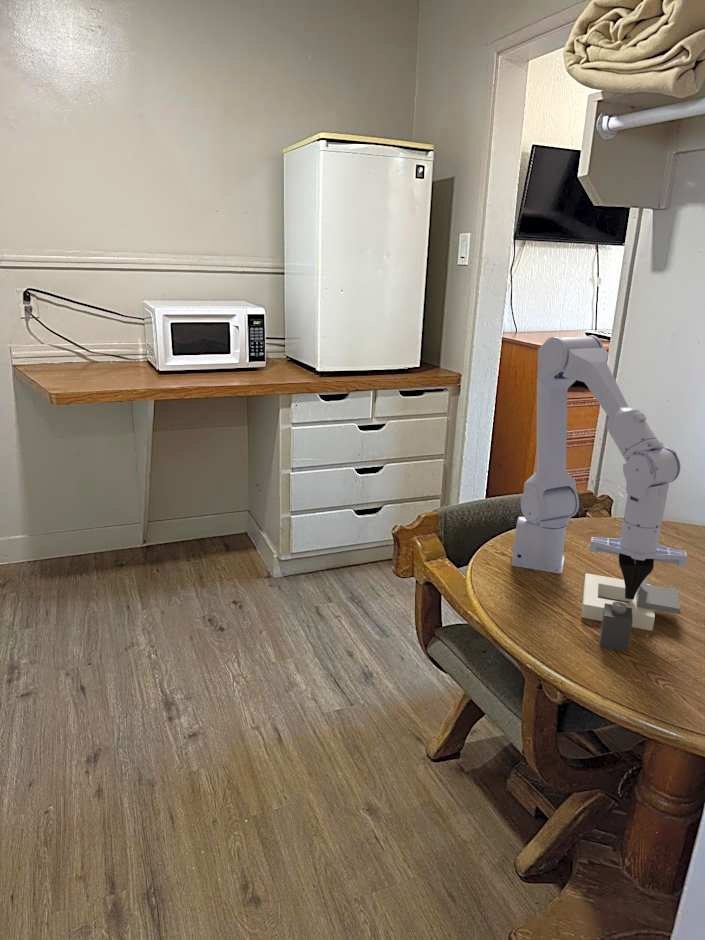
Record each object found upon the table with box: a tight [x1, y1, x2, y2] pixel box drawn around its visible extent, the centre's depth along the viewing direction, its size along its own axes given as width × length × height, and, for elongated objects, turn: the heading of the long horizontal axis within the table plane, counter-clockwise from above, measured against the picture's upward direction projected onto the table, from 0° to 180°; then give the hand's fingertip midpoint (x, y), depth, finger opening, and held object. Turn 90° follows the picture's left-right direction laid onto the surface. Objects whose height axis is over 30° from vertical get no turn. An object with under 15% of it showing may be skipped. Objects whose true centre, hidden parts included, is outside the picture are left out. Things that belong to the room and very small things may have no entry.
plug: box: [599, 601, 633, 653], centre depth 104 cm, size 4×4×7 cm
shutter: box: [636, 577, 682, 615], centre depth 113 cm, size 6×7×3 cm
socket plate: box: [581, 572, 656, 632], centre depth 116 cm, size 11×12×2 cm
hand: (629, 596), depth 113 cm, fingers closed
